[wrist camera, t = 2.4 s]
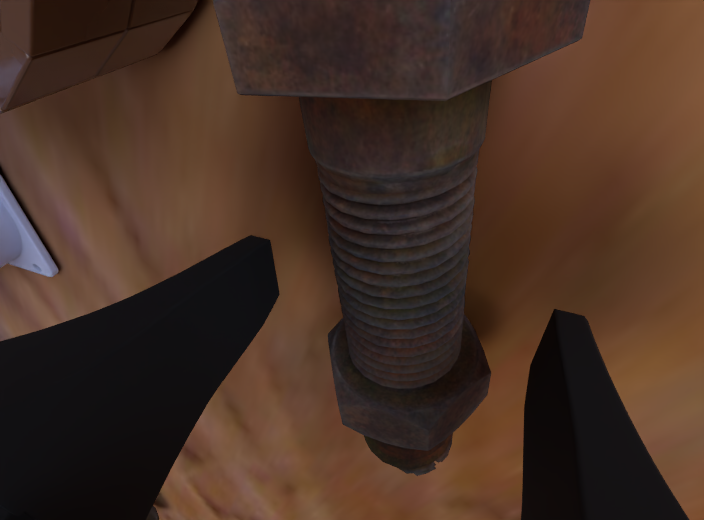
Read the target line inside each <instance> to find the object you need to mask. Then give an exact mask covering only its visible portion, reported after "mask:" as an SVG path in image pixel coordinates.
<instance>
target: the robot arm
mask: <svg viewBox="0 0 704 520" xmlns="http://www.w3.org/2000/svg"><path fill="white" fill-rule="evenodd" d="M7 263H8V264H11V265H14V266H17V267H20V268H23V269H26V270H29V271H32V272H36V273H39V274H42V275H45V276H48V277H53V276H54V275H56V274H57V273H58V268H57V266H56V264H55V263H54V261H53V259H52V258H51V256H50V254H49V253H48V251H47V250H46V248H45V246H44V245H43V243H42V241H41V240H40V238H39V236H38V235H37V233H36V232H35V230H34V228H33V227H32V225H31V223H30V222H29V220H28V218H27V217H26V215H25V214H24V212H23V210H22V209H21V207H20V205H19V204H18V202H17V200H16V199H15V197H14V195H13V194H12V192H11V191H10V189H9V187H8V186H7V184H6V182H5V181H4V179H3V177H2V176H1V174H0V268H1V267H3V266H4V265H6V264H7ZM278 296H279V288H278V282H277V277H276V271H275V265H274V259H273V253H272V248H271V242H270V240H269V239H264V238H260V237H256V236H252V235H250V236H248V237H246V238H244V239H242V240H240V241H238V242H236V243H234V244H232V245H230V246H229V247H227V248H225V249H223V250H221V251H219V252H218V253H216V254H214V255H212V256H210V257H208V258H207V259H205V260H203V261H201V262H199V263H197V264H195V265H193V266H192V267H190V268H188V269H186V270H184V271H182V272H180V273H179V274H177V275H175V276H173V277H170V278H168V279H166V280H164V281H162V282H160V283H158V284H156V285H154V286H152V287H150V288H148V289H146V290H144V291H142V292H140V293H138V294H135V295H133V296H131V297H129V298H126V299H124V300H122V301H119V302H117V303H115V304H112V305H110V306H107V307H105V308H102V309H100V310H97V311H95V312H92V313H89V314H87V315H84V316H81V317H78V318H75V319H72V320H69V321H66V322H63V323H60V324H57V325H54V326H51V327H48V328H45V329H42V330H39V331H36V332H32V333H29V334H25V335H22V336H18V337H15V338H11V339H7V340H4V341H0V520H146V519H147V517H148V515H149V512H150V510H151V508H152V506H153V504H154V502H155V500H156V498H157V496H158V494H159V492H160V490H161V488H162V486H163V484H164V482H165V480H166V478H167V476H168V474H169V472H170V470H171V468H172V466H173V464H174V462H175V460H176V459H177V457H178V455H179V453H180V451H181V449H182V447H183V446H184V444H185V442H186V440H187V438H188V436H189V435H190V433H191V431H192V429H193V428H194V426H195V424H196V422H197V421H198V419H199V417H200V416H201V414H202V412H203V410H204V409H205V407H206V405H207V404H208V402H209V400H210V399H211V397H212V396H213V394H214V393H215V391H216V390H217V388H218V387H219V386H220V384H221V383H222V381H223V380H224V379H225V377H226V376H227V375H228V373H229V372H230V370H231V369H232V368H233V366H234V365H235V364H236V362H237V361H238V359H239V358H240V357H241V355H242V354H243V353H244V351H245V350H246V348H247V347H248V346H249V344H250V343H251V341H252V340H253V339H254V337H255V336H256V334H257V333H258V332H259V330H260V329H261V327H262V326H263V324H264V323H265V321H266V319H267V317H268V315H269V314H270V312H271V310H272V308H273V306H274V304H275V302H276V300H277V298H278ZM521 520H689V519H688V517H687V515H686V514H685V512H684V511H683V509H682V508H681V506H680V504H679V503H678V501H677V500H676V498H675V496H674V495H673V493H672V492H671V490H670V489H669V487H668V485H667V484H666V482H665V480H664V479H663V477H662V475H661V474H660V472H659V470H658V468H657V467H656V465H655V463H654V462H653V460H652V458H651V456H650V454H649V453H648V451H647V449H646V447H645V445H644V444H643V442H642V440H641V438H640V436H639V434H638V433H637V431H636V429H635V427H634V425H633V423H632V421H631V419H630V417H629V415H628V413H627V411H626V409H625V407H624V405H623V403H622V401H621V399H620V397H619V395H618V392H617V390H616V388H615V386H614V384H613V382H612V380H611V377H610V375H609V373H608V371H607V368H606V366H605V364H604V361H603V359H602V357H601V354H600V352H599V349H598V347H597V344H596V342H595V339H594V337H593V334H592V331H591V329H590V326H589V323H588V321H587V319H586V318H585V316H582V315H578V314H574V313H569V312H565V311H561V310H557V309H554V311H553V313H552V316H551V318H550V320H549V323H548V325H547V327H546V330H545V332H544V334H543V337H542V339H541V341H540V344H539V346H538V349H537V351H536V353H535V356H534V358H533V360H532V363H531V365H530V372H529V378H528V385H527V392H526V399H525V408H524V446H523V492H522V514H521Z"/></svg>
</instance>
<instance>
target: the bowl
mask: <svg viewBox="0 0 704 520" xmlns="http://www.w3.org/2000/svg"><path fill="white" fill-rule="evenodd" d="M197 1H198V0H0V114H1V113H4V112H7V111H9V110H12V109H15V108H17V107H20V106H23V105H25V104H28V103H30V102H33V101H36V100H38V99H41V98H44V97H46V96H49V95H51V94H54V93H57V92H59V91H62V90H65V89H67V88H70V87H73V86H75V85H78V84H80V83H83V82H86V81H88V80H91V79H94V78H96V77H99V76H102V75H104V74H107V73H109V72H112V71H115V70H117V69H120V68H123V67H125V66H128V65H130V64H133V63H136V62H138V61H141V60H144V59H146V58H149V57H152V56H154V55H156V54H157V53H159V52H160V51H161V50H162V48H163V47H164V46H165V45H166V44H167V42H168V41H169V40H170V39H171V38H172V36H173V35H174V34H175V33H176V32H177V30H178V29H179V28H180V27H181V25H182V24H183V23H184V22H185V21H186V19H187V18H188V17H189V16H190V15H191V13H192V12H193V9H195V7H196V4H197Z"/></svg>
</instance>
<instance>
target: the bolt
mask: <svg viewBox="0 0 704 520" xmlns="http://www.w3.org/2000/svg"><path fill="white" fill-rule="evenodd" d="M589 3H590V0H213V4H214V7H215V11H216V15H217V19H218V22H219V26H220V30H221V34H222V37H223V41H224V45H225V48H226V52H227V56H228V60H229V63H230V67H231V71H232V75H233V78H234V82H235V86H236V90H237V93H238V94H240V95H258V96H292V97H299V102H300V107H301V112H302V117H303V123H304V128H305V133H306V138H307V144H308V149H309V151H310V154H311V155H312V156H313V158H314V159H315V162H316V164H317V166H318V167H317V168H318V177H319V180H320V188H321V191H322V193H323V203H324V206H325V213H326V219H327V226H328V234H329V242H330V246H331V254H332V257H333V265H334V268H335V270H334V271H335V276H336V281H337V284H338V292H339V298H340V303H341V308H342V313H343V318H342V319H341V320H340V322H339V323H338V324H337V325H336V326H335V327H334V328H333V329H332V330H331V331H330V332H329V333H328V342H329V350H330V357H331V364H332V370H333V377H334V383H335V389H336V395H337V400H338V406H339V410H340V414H341V419H342V423H343V425H345V426H347V427H349V428H351V429H353V430H355V431H357V432H359V433H361V434H363V435H364V437H365V440H366V442H367V444H368V446H369V448H370V450H371V451H372V452H373V453H374V454H375V455H376V456H377V457H378V458H379V459H381V460H382V461H383V462H385V463H387V464H390V465H392V466H395V467H397V468H399V469H400V470H402V471H404V472H405V473H407V474H408V473H414V474H415V475H417V476H418V475H422V474H426V473H428V472H430V471H432V470H434V469H436V468H435V467H434V466H435V465H436V464H435V463H434V461H437V462H440V461H441V462H442V461H443V460H444V459H445V458H446V457H447V456H448V453H449V450H450V447H451V444H452V434H453V432H454V431H455V430H456V429H457V428H459V426H460V425H461V424H462V423H463V422H464V421H465V420H466V419H467V418H468V417H469V416H470V415H471V414H472V413H473V412H474V410H475V409H476V408H477V407H478V406H479V404H480V403H481V402H482V401H483V399H484V398H485V397H486V396H487V393H488V388H489V382H490V376H491V371H490V368H489V365H488V362H487V359H486V356H485V353H484V350H483V348H482V346H481V343H480V341H479V339H478V336H477V334H476V332H475V330H474V328H473V326H472V325H471V323H470V321H469V320H468V318H467V317H466V316H465V315H464V307H465V298H464V297H465V286H466V278H467V271H468V269H467V268H468V264H469V261H468V256H469V253H470V250H469V243H470V240H471V235H470V232H471V229H472V224H471V222H472V218H473V207H474V201H475V199H474V190H475V180H476V175H477V167H476V165H477V163H478V155H479V148H480V147H481V145H482V143H483V141H484V139H485V133H486V124H487V116H488V107H489V99H490V90H491V82H492V80H493V79H495V78H497V77H500V76H502V75H504V74H506V73H508V72H511V71H513V70H515V69H517V68H519V67H521V66H524V65H526V64H528V63H530V62H532V61H535V60H537V59H539V58H541V57H543V56H546V55H548V54H550V53H552V52H554V51H556V50H559V49H561V48H563V47H565V46H567V45H570V44H572V43H574V42H576V41H578V40H580V39H581V38H582V36H583V31H584V26H585V22H586V17H587V13H588V8H589Z"/></svg>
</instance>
